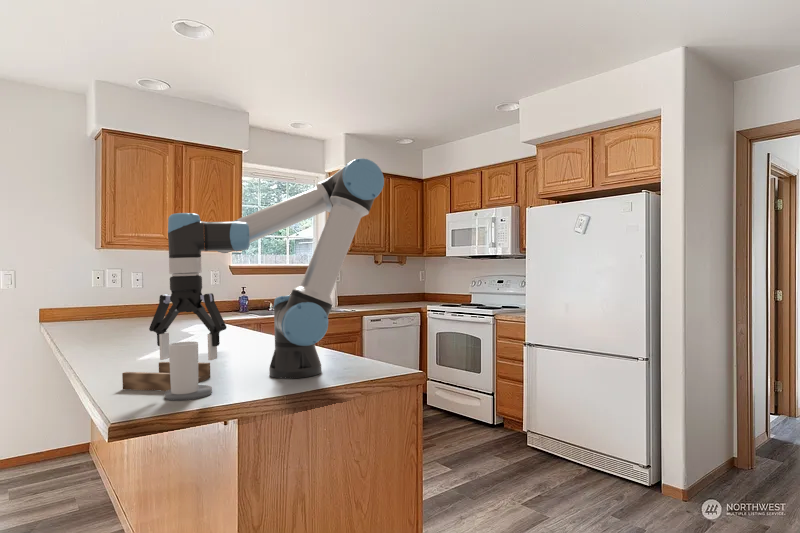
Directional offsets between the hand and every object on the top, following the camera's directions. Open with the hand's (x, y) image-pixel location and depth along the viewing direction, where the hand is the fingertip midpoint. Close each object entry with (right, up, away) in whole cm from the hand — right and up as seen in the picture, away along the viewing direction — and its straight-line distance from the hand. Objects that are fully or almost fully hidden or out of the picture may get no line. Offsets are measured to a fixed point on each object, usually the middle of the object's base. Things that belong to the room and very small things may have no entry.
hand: (188, 359), depth 129 cm
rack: (-11, -9, +14) cm, 20 cm away
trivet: (0, -9, 0) cm, 9 cm away
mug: (0, -8, 0) cm, 8 cm away
